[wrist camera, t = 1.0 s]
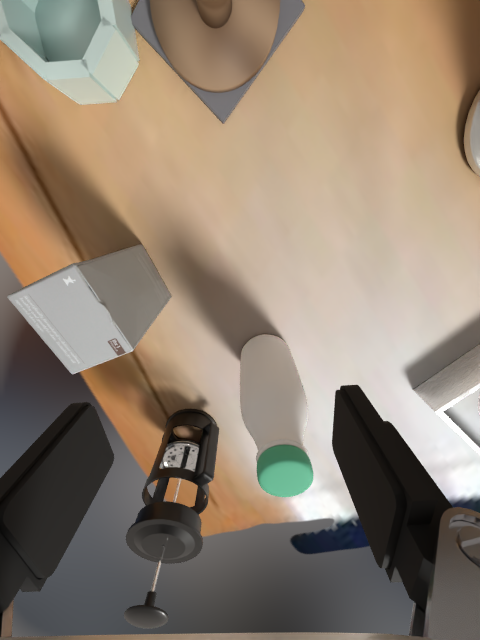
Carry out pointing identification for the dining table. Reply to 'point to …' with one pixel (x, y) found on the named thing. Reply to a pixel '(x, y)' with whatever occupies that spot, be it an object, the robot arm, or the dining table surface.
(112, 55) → the bowl
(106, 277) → the skincare box
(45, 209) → the dining table surface
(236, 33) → the lid
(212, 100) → the mat
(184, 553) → the french press
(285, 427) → the milk bottle
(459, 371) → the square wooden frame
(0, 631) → the robot arm
